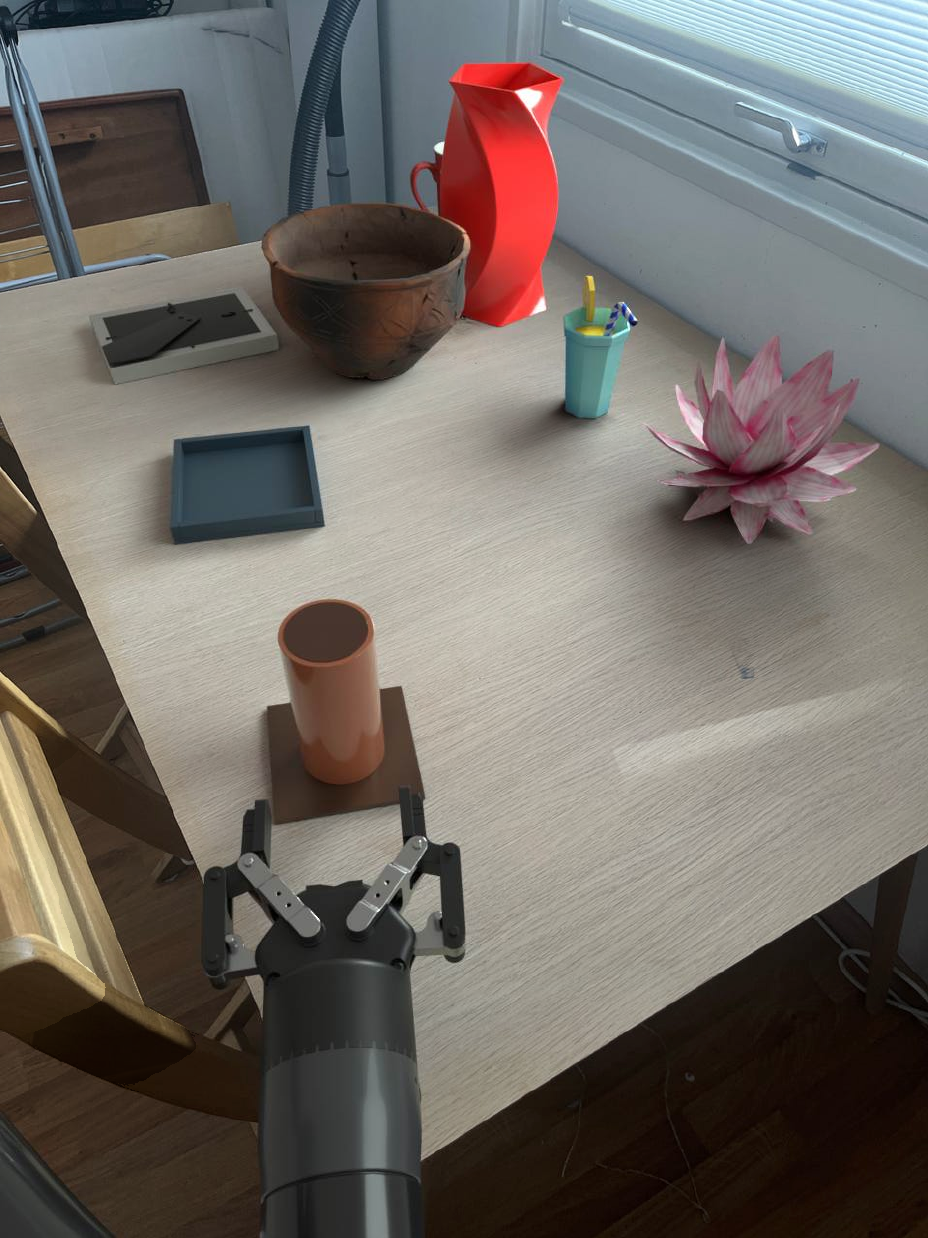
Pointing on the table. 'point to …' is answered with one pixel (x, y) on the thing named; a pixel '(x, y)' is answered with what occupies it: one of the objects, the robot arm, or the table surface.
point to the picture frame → (181, 334)
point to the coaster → (314, 798)
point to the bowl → (368, 283)
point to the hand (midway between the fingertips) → (334, 799)
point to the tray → (244, 484)
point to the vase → (501, 185)
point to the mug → (434, 169)
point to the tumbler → (334, 689)
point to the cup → (593, 353)
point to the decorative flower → (766, 441)
